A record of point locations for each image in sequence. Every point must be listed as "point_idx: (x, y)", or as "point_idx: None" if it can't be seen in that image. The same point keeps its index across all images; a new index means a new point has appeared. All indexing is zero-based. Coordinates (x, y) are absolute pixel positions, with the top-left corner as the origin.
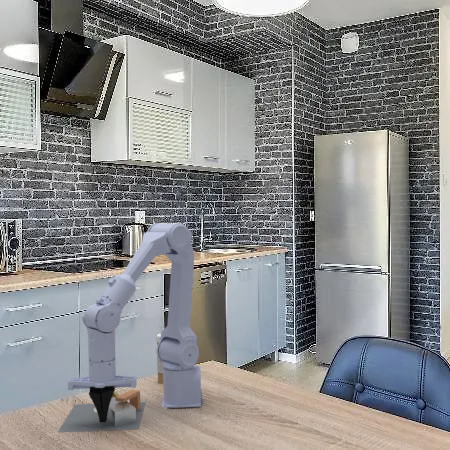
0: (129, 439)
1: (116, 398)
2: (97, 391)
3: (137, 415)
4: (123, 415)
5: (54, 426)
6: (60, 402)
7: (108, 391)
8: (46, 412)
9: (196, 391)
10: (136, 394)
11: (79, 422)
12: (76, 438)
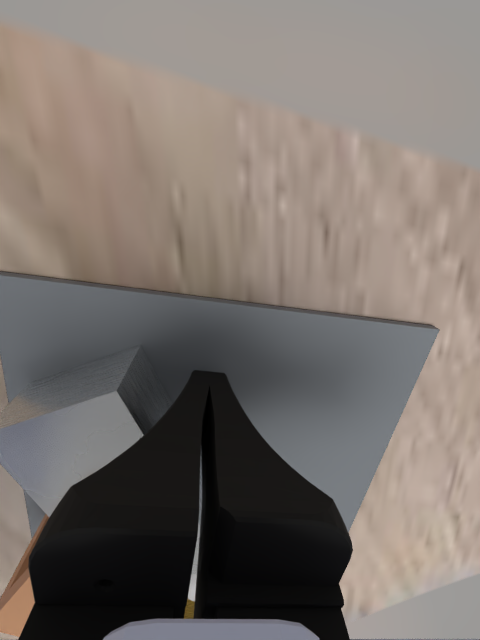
0: (22, 146)
1: None
2: (250, 579)
3: None
4: (73, 389)
5: (429, 411)
6: (373, 595)
7: (95, 555)
8: (434, 533)
9: None
10: (8, 594)
11: (323, 420)
12: (348, 246)
